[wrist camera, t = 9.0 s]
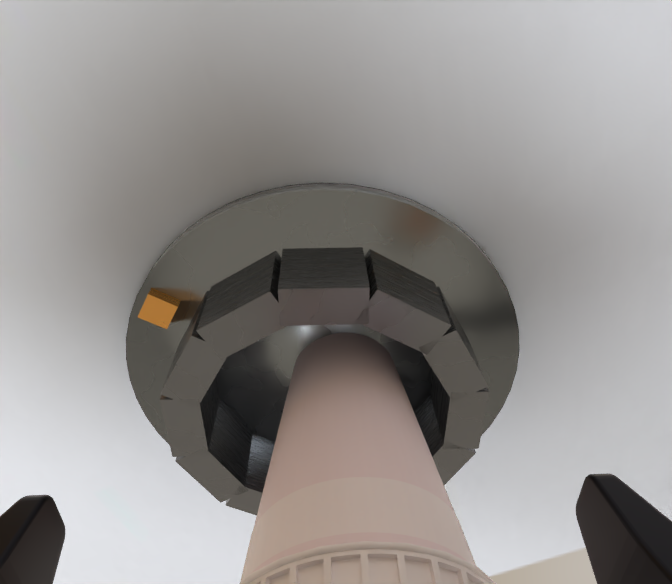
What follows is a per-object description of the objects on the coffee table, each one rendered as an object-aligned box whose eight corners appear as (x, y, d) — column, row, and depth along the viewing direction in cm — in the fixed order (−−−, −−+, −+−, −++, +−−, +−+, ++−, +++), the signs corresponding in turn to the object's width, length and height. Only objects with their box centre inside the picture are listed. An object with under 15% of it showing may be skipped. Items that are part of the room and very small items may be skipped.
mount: (595, 301, 19) (642, 355, 16) (382, 524, 25) (390, 591, 22) (227, 94, 15) (207, 121, 12) (81, 421, 21) (47, 487, 18)
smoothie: (344, 460, 21) (380, 1077, 9) (218, 378, 19) (50, 1066, 7) (468, 370, 19) (722, 1028, 7) (343, 263, 17) (412, 986, 5)
